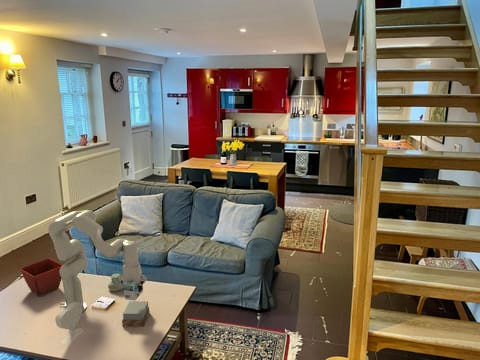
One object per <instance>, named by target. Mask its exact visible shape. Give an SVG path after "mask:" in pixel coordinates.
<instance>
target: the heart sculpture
mask: <svg viewBox="0 0 480 360" xmlns="http://www.w3.org/2000/svg"><path fill="white" fill-rule="evenodd" d="M82 313H83V312H82V304H81V303H79V302H72V303H70V304H69V305H68V306H67V308H66V309H65V308H63V309H62V308H61V310H60V311H59V312H58V313H57V315H56V316H55V324H56V327H58V328H60V329H63V330H68V331H69V333H68V334H69V335H67V336H66V337H65V338H64V339H63V340H62V341H60V344H61V345H63V346H64V345H65V346H67V345H69V344H71V343H72V342H73V341H74V340H75V339H76V338H77V337H78V336H79V335H81V334H82V333H83V332H84V329H83V328H76V326H77V324H78V323H79V321H80V318H81V317H82ZM75 328H76V329H75Z"/></svg>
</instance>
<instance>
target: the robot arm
mask: <svg viewBox="0 0 480 360" xmlns="http://www.w3.org/2000/svg"><path fill="white" fill-rule="evenodd" d="M96 221H97V215H96V213H95V212H94V211H93V210H90V209H84V210H78V211H77V210H76V211H71V212H68V213H67V214H64V215H63V216H61V217H58V218H56V219H55V220H53V221H51V222H50V223H49V225H48V228H47V229H48V234H49V237H50V238H51V240H52V243H53V246H54V249H55V252H56V256H57V258H58V260H59V261H60V262H63V263H64V262H65V263H64V264H62V265H63V266H62V267H61V268H60V271H59V272H60V276H61V283H62V287H63V292H64V299H65V300H64V301H65V302H60V304H59V305H60V308H61V309H62V308H63V309H66V308H67V306H68V305H69V304H70V303H72V302H79V303H81V304H82V313H83V312H85V311H86V310H87V303H86V302H84V298H83V289H82V283H81V280H80V278H79V277H78V275H79V274H80V273H81V272H83V271H84V270H86V269H87V267H88V264H89V263H88V258H87V254H86V252H85V247H84V245H83V243H82V242H81V241H80V240H79V239H77V238H73V239H71V240H70V237H69V235H68V234H67V233H66V232H67V231H69V230H71V229H73V228H75V229H77V230H78V231H80V232H81V233H82V234H84V235H85V236H87V237H88V238H90V240H92V243H93V245H94V247H95V249H96V250H97V251H98V252H99V253H100V254H101V255H102V256H105V257H107V258H108V259H115V258H116V257H118V256H119V255H120V254H122V253H123V254H122V255H123V260H121V263H122V265H123V266H122V275H120V276H121V277H119V279H118V280H119V281H121V283H122V284H123V282H124V281H136V283H138V284H139V292H141V291H142V290H143V291H144V284H145V283H146V281H147V280H148V277H147V276H146V275H144V274H143V273H142V272H143V271H142V267H141V264H140V263H139V255H138V254H139V253H138V244H137V242H136V241H135V240H129V239H125V238H122V237H121V238H117V239H115V240H114V241H112V242H111V243H110V244H109V243H108V242H106V241H105V240H104V239H103V237H102V233H103V232H104V228H103V225H100V224H99V223H97V222H96ZM141 279H142V280H141Z"/></svg>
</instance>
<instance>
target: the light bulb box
mask: <svg viewBox="0 0 480 360" xmlns="http://www.w3.org/2000/svg"><path fill="white" fill-rule="evenodd" d="M141 280H142V281H143V278H142V279H141ZM123 285H124V288H123V293H124V294H123V295H124V300H127V301H137V300H138V298H139V297H140V296H141V295H142V293H143V292H144V289H143V290H142V291H141V292H139V284H138V283H136V281H124V282H123Z"/></svg>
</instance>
